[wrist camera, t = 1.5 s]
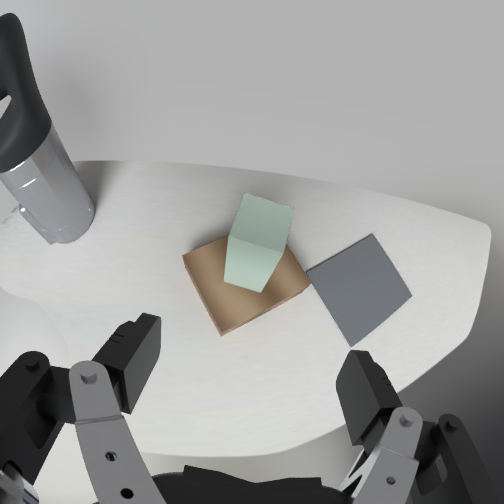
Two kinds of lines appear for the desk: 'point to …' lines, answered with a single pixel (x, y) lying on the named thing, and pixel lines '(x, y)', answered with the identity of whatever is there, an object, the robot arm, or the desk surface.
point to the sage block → (256, 241)
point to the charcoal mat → (360, 288)
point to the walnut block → (235, 297)
